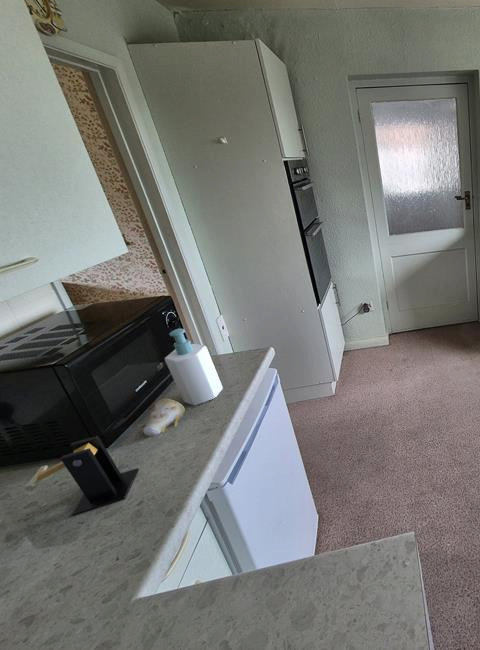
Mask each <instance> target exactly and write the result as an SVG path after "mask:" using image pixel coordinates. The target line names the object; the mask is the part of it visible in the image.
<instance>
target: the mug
mask: <svg viewBox="0 0 480 650" xmlns="http://www.w3.org/2000/svg"><path fill="white" fill-rule="evenodd" d="M185 412H186V408H185V407H184V406H183V404H181V403H180V402H178V401H176V400H173V399H171V398H160V399H159V400H158V401H156V402H155V404H154V405H153V407H152V410H151V412H150V416H149V420H148V422H146V425H145V426H144V427H143V430H142V431H143V434H144V435H145V436H147V437H155V436H157V435H160V434H165V433H166V432H165V431H166V428H167V427H169V426H171V425H172V424H173V428H175V427H177V426H178V423H179V421H180V419H181V418H182V416H184V414H185Z"/></svg>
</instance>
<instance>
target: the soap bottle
mask: <svg viewBox="0 0 480 650" xmlns="http://www.w3.org/2000/svg"><path fill="white" fill-rule="evenodd" d="M184 333H186V330H185V329H184V328H176V329H174V330H172V331H170V333H168V334H169V336H170V337H173V339H174V340H175V343H173V347H174V350H172V352H170V353H169V354H168V355H167V356H165V357H164V362H165V364H166V366H167V368H168V370H169V372H170V374H171V377H172V379H173V381H174V383H175V385H176V387H177V390H178V391H179V394H180V396H181V398H182V400H183V402H184V403H186V404H189V405H192V406H199V405H201V403H202V404H204V403H208V402H210V401H213V400H215V399H216V398H217V396H218V395H219V394H220V393H221V392H222V390H223V389H224V386H223V385H222V382H221V380H220V377H219V375H218V371H217V370H216V367H215V364H214V362H213V360H212V357H211V354H210V352H209V350H208V347H207V346H206V345H204V344H198V343H192V342H191V341H190V339H186V337H185V334H184ZM215 397H216V398H215ZM214 398H215V399H214ZM212 399H213V400H212ZM209 400H210V401H209ZM198 404H199V405H198Z"/></svg>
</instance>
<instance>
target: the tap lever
mask: <svg viewBox="0 0 480 650" xmlns="http://www.w3.org/2000/svg"><path fill="white" fill-rule="evenodd" d="M89 448H90V449H91V451H92V453H93V454H94V455H95V454H96V452H97V449H96V448H95V447H93V446H92V445H91V444H90V443H87V444H86V445H84V446H82V447H80V448H78V449H76V450H75V451H73V452H72V453H74V452H78V451H81V450H85V449H89ZM65 468H66V466H65V465H64V463H63V462H62V461H60V462H58V463H56V464H54V465H52V466H51V467H50V466H48V465H42V466H40V467H39V469H38V470H37V471H36V472H35V474H34V475H33V477H32V478H31V479H30V480H29V481H28V483H27V484H26V485H25V487H24V489H25V491H28V492H32V491H34V490H35V489H36V488H37V487H38V486H39V484H40V483H41V481H42V480H43V479H45V478H47V477H49V476H51V475H53V474H55V473H57V472H58V471H60V470H63V469H65Z"/></svg>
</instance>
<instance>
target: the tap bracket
mask: <svg viewBox="0 0 480 650" xmlns="http://www.w3.org/2000/svg"><path fill="white" fill-rule="evenodd" d="M87 443H90V444H91V445H92V446H93V447H95V448H96V449H97V452H96V454H95V455H94V454H93V453H92V451H91V449H90V448H89V449H85V450H81V451H78V452H74V451H75V450H76V449H78V448H80V447H82V446H84V445H86V444H87ZM70 448H71V449H72V451H73V452H74V453H73V452H70V453H67V454H63V455H62V456H61V458H60V460H61V461H60V462H63V463H64V465H65V466H66V467H65V468H66V469H67V471H68V472H69V474H70V475H71V478H73V480H74V481H75V483H76V484H77V486H78V487H79V489H80V490H81V492H82V497H81V498H80V501H79V502H78V503H77V505H76V507H75V509H74V510H73V512H72V514H71V516H72V517H74V516H78V515H80V514H84V513H87V512H90V511H93V510H96V509H99V508H102V507H106V506H109V505H111V504H115V503H117V502H121V501H124V500H126V499H127V497H128V494H129V492H130V490H131V488H132V486H133V483H134V481H135V479H136V478H137V475H138V473H139V470H140V468H139V467H137V468H134V469H130V470H127V471H124V472H121V470H119V468H118V466H117V465H116V463H115V462H114V460H113V458H112V456H111V455H110V453H109V452H108V450H107V448H106V447H105V444H104V443H103V442H102V440H101V438H100V437H99V435H96V436H91V437H88V438H84V439H80V440H77V441H74V442H72V443H71V444H70Z"/></svg>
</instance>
